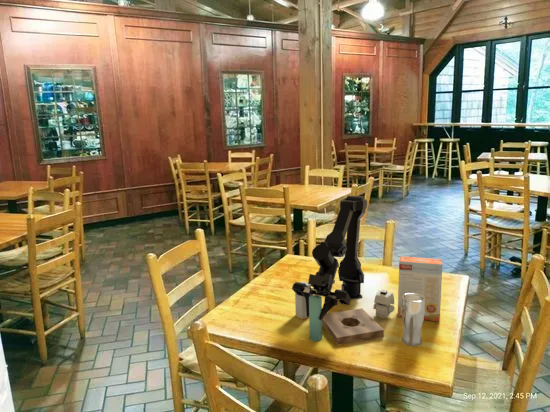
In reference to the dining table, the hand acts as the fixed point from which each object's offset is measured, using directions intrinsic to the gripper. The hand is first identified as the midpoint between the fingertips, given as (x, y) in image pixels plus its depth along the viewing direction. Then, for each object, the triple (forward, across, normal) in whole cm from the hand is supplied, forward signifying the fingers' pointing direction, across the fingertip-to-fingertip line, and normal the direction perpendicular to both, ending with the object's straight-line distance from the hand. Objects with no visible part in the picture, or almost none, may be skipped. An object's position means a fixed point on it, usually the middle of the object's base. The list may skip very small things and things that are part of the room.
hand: (313, 318), depth 138 cm
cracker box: (-16, +26, +27) cm, 41 cm away
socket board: (-3, +8, +14) cm, 16 cm away
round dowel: (+4, 0, +6) cm, 8 cm away
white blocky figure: (-12, +16, +23) cm, 30 cm away
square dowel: (-4, -10, +15) cm, 19 cm away
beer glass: (-3, +28, +14) cm, 32 cm away
